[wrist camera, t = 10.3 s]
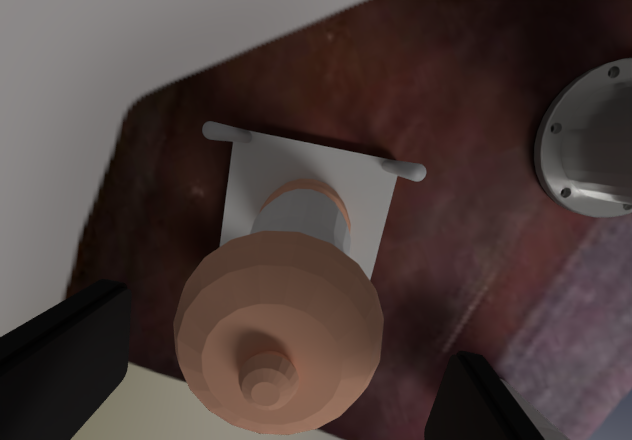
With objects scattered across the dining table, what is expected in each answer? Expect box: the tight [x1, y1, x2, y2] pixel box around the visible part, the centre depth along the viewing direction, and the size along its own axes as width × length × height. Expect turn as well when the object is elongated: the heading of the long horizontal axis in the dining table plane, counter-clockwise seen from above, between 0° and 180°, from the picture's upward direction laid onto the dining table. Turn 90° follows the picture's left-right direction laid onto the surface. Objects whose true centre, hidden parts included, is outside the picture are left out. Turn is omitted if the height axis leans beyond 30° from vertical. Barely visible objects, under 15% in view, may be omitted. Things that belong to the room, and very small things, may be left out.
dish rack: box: [202, 121, 426, 280], centre depth 22 cm, size 14×20×12 cm
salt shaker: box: [173, 178, 384, 435], centre depth 17 cm, size 7×7×19 cm
